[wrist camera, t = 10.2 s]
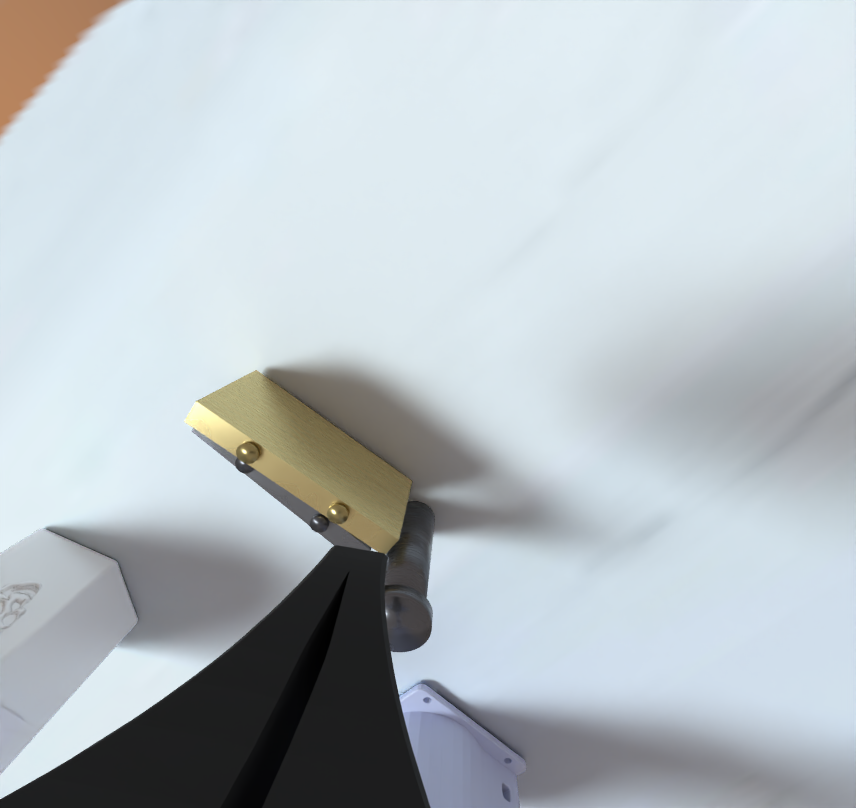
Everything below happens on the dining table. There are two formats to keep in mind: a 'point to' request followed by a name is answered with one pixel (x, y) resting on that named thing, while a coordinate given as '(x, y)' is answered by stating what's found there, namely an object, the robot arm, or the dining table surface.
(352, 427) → the dining table surface
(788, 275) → the dining table surface
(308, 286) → the dining table surface
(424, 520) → the hinge base
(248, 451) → the brass leaf
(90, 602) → the jar
